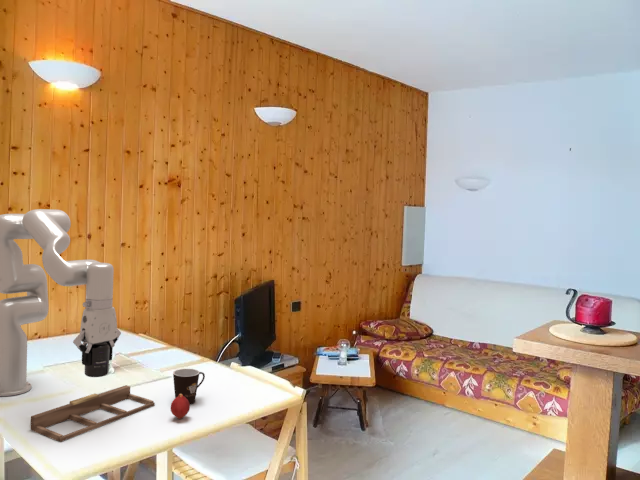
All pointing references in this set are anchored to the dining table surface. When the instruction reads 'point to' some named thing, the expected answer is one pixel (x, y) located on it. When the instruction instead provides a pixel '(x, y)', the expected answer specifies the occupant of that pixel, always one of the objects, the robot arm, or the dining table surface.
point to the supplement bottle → (98, 360)
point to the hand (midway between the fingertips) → (97, 361)
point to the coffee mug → (187, 383)
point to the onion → (180, 406)
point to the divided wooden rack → (83, 407)
